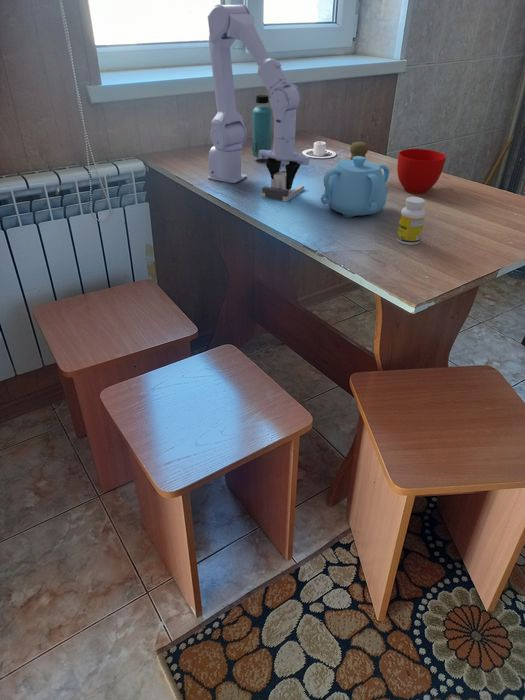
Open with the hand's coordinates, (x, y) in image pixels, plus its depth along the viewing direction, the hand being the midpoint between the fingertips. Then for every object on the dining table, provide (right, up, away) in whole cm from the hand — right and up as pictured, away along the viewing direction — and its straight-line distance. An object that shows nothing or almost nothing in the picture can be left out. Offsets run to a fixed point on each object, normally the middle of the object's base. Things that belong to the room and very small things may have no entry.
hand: (282, 187), depth 144 cm
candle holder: (+14, +23, +36) cm, 45 cm away
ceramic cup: (+41, +2, +7) cm, 41 cm away
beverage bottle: (-6, +18, +29) cm, 35 cm away
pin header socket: (0, -2, +1) cm, 2 cm away
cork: (+23, +6, +12) cm, 27 cm away
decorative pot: (+18, -9, -9) cm, 22 cm away
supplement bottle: (+28, -20, -25) cm, 43 cm away
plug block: (0, -1, +1) cm, 2 cm away
